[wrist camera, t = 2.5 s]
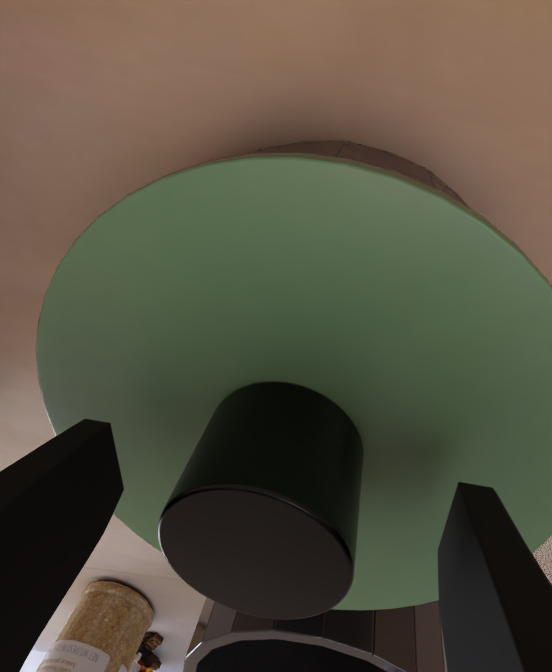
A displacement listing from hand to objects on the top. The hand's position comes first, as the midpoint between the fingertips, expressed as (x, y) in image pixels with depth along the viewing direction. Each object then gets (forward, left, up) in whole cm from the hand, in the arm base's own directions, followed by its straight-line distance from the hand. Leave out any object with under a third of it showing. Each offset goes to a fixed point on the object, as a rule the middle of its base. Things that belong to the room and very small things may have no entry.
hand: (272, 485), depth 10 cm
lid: (0, 0, -2) cm, 2 cm away
